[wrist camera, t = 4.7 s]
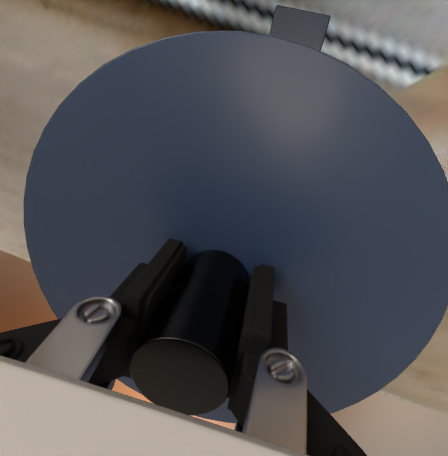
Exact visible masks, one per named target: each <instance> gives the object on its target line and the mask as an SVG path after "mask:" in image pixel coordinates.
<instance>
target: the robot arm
mask: <svg viewBox="0 0 448 456" xmlns="http://www.w3.org/2000/svg"><path fill="white" fill-rule="evenodd" d="M186 249H187V247H186V246H184V245H183V242H182V241H179V240H175V239H171V238H169V239H168V240H167V241H166V243H165V244H164V245H163V246H162V247H161V249H160V250H159V251H158V252H157V254H156V255H155V256H154V257H153V258H152V260H151V261H150V262H149V263H148V264H146V263H142V262H141V263H139V264H138V265H137V266H136V267H135V268H134V270H133V271H132V272H131V273H130V274H129V275H128V276H127V277H126V279H125V280H124V281H123V282H122V283H121V284H120V285H119V286H118V288H117V289H116V290H115V291H114V292H113V293H112V294H111V295H110V297H108V296H101V295H99V296H91V297H87V298H84V299H82V300H80V301H79V302H78V303H76V304H75V305H74V306H73V307H72V309H71V310H70V311H69V312H68V313H67V314H66V316H65V317H64V318H62V319H58V320H53V321H49V322H45V323H40V324H36V325H32V326H28V327H23V328H19V329H15V330H10V331H6V332H2V333H0V456H367V455H366V454H365V453H364V451H363V450H362V449H361V448H360V447H359V446H358V445H357V443H356V442H355V441H354V440H353V439H352V438H351V437H350V436H349V435H348V434H347V432H346V431H345V430H344V429H343V428H342V427H341V426H340V425H339V424H338V423H337V421H336V420H335V419H334V418H333V417H332V416H331V415H330V414H329V412H328V411H327V410H326V409H325V408H324V407H323V406H322V405H321V404H320V402H319V401H318V400H317V399H316V398H315V397H314V396H313V395H312V394H311V393H310V391H309V390H308V389H307V371H306V368H305V366H304V364H303V363H302V361H301V360H300V359H299V358H298V357H297V356H296V355H294V354H293V353H292V352H290V351H288V328H287V304H286V303H282V302H279V301H275V300H273V290H274V269H275V267H272V266H269V265H265V264H262V263H261V265H260V267H259V266H256V265H255V268H254V271H253V274H252V278H251V281H250V284H249V288H248V293H247V298H246V303H245V309H244V314H243V320H242V325H241V331H240V336H239V342H238V347H237V353H236V358H235V365H234V370H233V376H232V381H231V387H230V392H229V395H228V397H227V398H229V402H228V407H227V409H228V410H231V412H232V413H233V415H234V416H235V418H236V419H237V423H236V426H235V430H232V429H228V428H226V427H223V426H219V425H217V424H213V423H210V422H207V421H204V420H201V419H198V418H195V417H192V416H189V415H186V414H183V413H180V412H177V411H174V410H171V409H168V408H165V407H162V406H158V405H155V404H152V403H149V402H146V401H143V400H140V399H137V398H133V397H131V396H127V395H124V394H121V393H118V392H115V391H112V388H113V386H114V383H115V379H117V378H120V377H122V376H125V377H128V378H132V377H131V374H130V359H131V356H132V354H133V352H134V350H135V349H136V347H137V345H138V344H139V342H140V340H141V339H142V337H143V335H144V333H145V332H146V330H147V328H148V327H149V325H150V323H151V322H152V320H153V318H154V317H155V315H156V313H157V312H158V310H159V308H160V307H161V305H162V303H163V302H164V300H165V298H166V297H167V295H168V293H169V292H170V290H171V288H172V287H173V285H174V283H175V281H176V280H177V278H178V276H179V275H180V273H181V271H182V270H183V266H184V260H185V255H186Z"/></svg>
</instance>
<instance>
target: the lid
mask: <svg viewBox="0 0 448 456" xmlns="http://www.w3.org/2000/svg"><path fill="white" fill-rule="evenodd" d="M24 228H25V235H26V242H27V248H28V252H29V256H30V260H31V263H32V267H33V270H34V273H35V275H36V278H37V280H38V283H39V285H40V288H41V290H42V292H43V294H44V296H45V298H46V300H47V302H48V304H49V305H50V307H51V309H52V311H53V312H54V314H55V315H56V317H57V318H58V319H62V318H64V317H65V316H66V314H67V313H68V312H69V311H70V310H71V309H72V307H73V306H74V305H75V304H76V303H78V302H79V301H80V300H82V299H84V298H87V297H91V296H99V295H101V296H108V297H110V295H111V294H112V293H113V292H114V291H115V290H116V289H117V288H118V286H119V285H120V284H121V283H122V282H123V281H124V280H125V279H126V277H127V276H128V275H129V274H130V273H131V272H132V271H133V270H134V268H135V267H136V266H137V265H138V264H139V263H141V262H142V263H146V264H148V263H149V262H150V261H151V260H152V258H153V257H154V256H155V255H156V254H157V252H158V251H159V250H160V249H161V247H162V246H163V245H164V244H165V243H166V241H167V240H168V239H169V238H171V239H175V240H179V241H182V242H183V245H184V246H186V247H187V249H186V255H185V260H184V266H183V270H182V271H181V273H180V275H179V276H178V278H177V280H176V281H175V283H174V285H173V287H172V288H171V290H170V292H169V293H168V295H167V297H166V298H165V300H164V302H163V303H162V305H161V307H160V308H159V310H158V312H157V313H156V315H155V317H154V318H153V320H152V322H151V323H150V325H149V327H148V328H147V330H146V332H145V333H144V335H143V337H142V339H141V340H140V342H139V344H138V345H137V347H136V349H135V350H134V352H133V354H132V356H131V359H130V374H131V377H132V378H128V377H125V376H122V377H120V378H117V379H118V380H119V381H121V382H122V383H124V384H125V385H126V386H128V387H130V388H132V389H133V390H135V391H137V392H139V393H141V394H142V395H144V396H145V397H146V398H147V399H148V400H150V401H151V402H152V403H154V404H155V405H158V406H162V407H165V408H168V409H171V410H174V411H177V412H180V413H183V414H186V415H195V416H198V417H202V418H206V419H211V420H217V421H222V422H229V423H237V419H236V418H235V416H234V415H233V413H232V412H231V410H228V409H227V407H228V402H229V398H227V397H228V395H229V392H230V387H231V381H232V376H233V370H234V365H235V358H236V353H237V347H238V342H239V336H240V331H241V325H242V320H243V314H244V309H245V303H246V298H247V293H248V288H249V284H250V281H251V278H252V274H253V271H254V268H255V265H256V266H259V267H260V265H261V263H262V264H265V265H269V266H272V267H275V269H274V290H273V300H275V301H279V302H282V303H286V304H287V328H288V351H290V352H292V353H293V354H294V355H296V356H297V357H298V358H299V359H300V360H301V361H302V363H303V364H304V366H305V368H306V371H307V389H308V390H309V391H310V393H311V394H312V395H313V396H314V397H315V398H316V399H317V400H318V401H319V402H320V404H321V405H322V406H323V407H324V408H325V409H326V410H327V411H328V412H329V414H330V413H334V412H337V411H339V410H341V409H344V408H346V407H349V406H351V405H353V404H356V403H358V402H360V401H361V400H363V399H365V398H367V397H369V396H370V395H372V394H374V393H376V392H377V391H379V390H380V389H382V388H383V387H384V386H386V385H387V384H388V383H390V382H391V381H392V380H394V379H395V378H396V377H398V376H399V375H400V374H401V373H402V372H403V371H404V370H405V369H406V368H407V367H408V366H409V365H410V364H411V363H412V362H413V361H414V360H415V359H416V358H417V356H418V355H419V354H420V352H421V351H422V350H423V349H424V347H425V346H426V345H427V344H428V342H429V341H430V340H431V338H432V336H433V334H434V332H435V331H436V329H437V327H438V325H439V324H440V322H441V320H442V318H443V316H444V313H445V311H446V308H447V305H448V182H447V179H446V176H445V173H444V171H443V169H442V167H441V165H440V163H439V161H438V159H437V157H436V155H435V153H434V151H433V150H432V148H431V146H430V144H429V142H428V140H427V139H426V138H425V136H424V135H423V134H422V132H421V131H420V130H419V128H418V127H417V126H416V124H415V123H414V122H413V120H412V119H411V118H410V116H409V115H408V114H407V112H406V111H405V110H404V109H403V108H402V107H401V106H399V105H398V104H397V103H396V102H395V101H394V100H393V99H392V98H391V97H390V96H389V95H388V94H387V93H386V92H385V91H384V90H383V89H382V88H381V87H380V86H378V85H377V84H376V83H374V82H373V81H371V80H370V79H368V78H367V77H365V76H364V75H362V74H361V73H359V72H358V71H357V70H355V69H354V68H352V67H351V66H349V65H348V64H346V63H344V62H342V61H340V60H338V59H336V58H334V57H332V56H329V55H327V54H325V53H323V52H321V51H319V50H317V49H315V48H313V47H310V46H307V45H303V44H300V43H297V42H293V41H290V40H287V39H283V38H280V37H277V36H272V35H265V34H257V33H250V32H243V31H199V32H193V33H188V34H182V35H177V36H171V37H166V38H162V39H159V40H156V41H153V42H151V43H148V44H145V45H142V46H139V47H136V48H134V49H131V50H129V51H128V52H126V53H124V54H122V55H120V56H118V57H117V58H115V59H113V60H111V61H109V62H107V63H106V64H104V65H102V66H101V67H100V68H99V69H97V70H96V71H95V72H94V73H92V74H91V75H90V76H88V77H87V78H86V79H85V80H83V81H82V82H81V83H79V85H78V86H77V87H76V88H75V89H74V90H73V91H72V92H71V93H70V94H69V95H68V96H67V98H66V99H65V100H64V101H63V102H62V103H61V104H60V105H59V107H58V108H57V110H56V111H55V113H54V114H53V116H52V117H51V119H50V120H49V122H48V123H47V125H46V126H45V128H44V130H43V132H42V135H41V137H40V139H39V141H38V143H37V146H36V148H35V150H34V152H33V156H32V160H31V163H30V167H29V170H28V174H27V179H26V187H25V194H24Z"/></svg>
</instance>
